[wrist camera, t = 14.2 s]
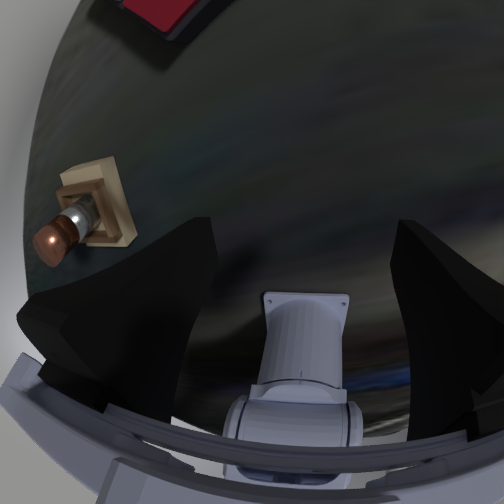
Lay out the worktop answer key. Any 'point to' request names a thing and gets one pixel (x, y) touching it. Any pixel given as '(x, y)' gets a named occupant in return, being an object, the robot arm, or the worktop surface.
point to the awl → (66, 230)
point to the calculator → (173, 16)
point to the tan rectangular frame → (100, 201)
